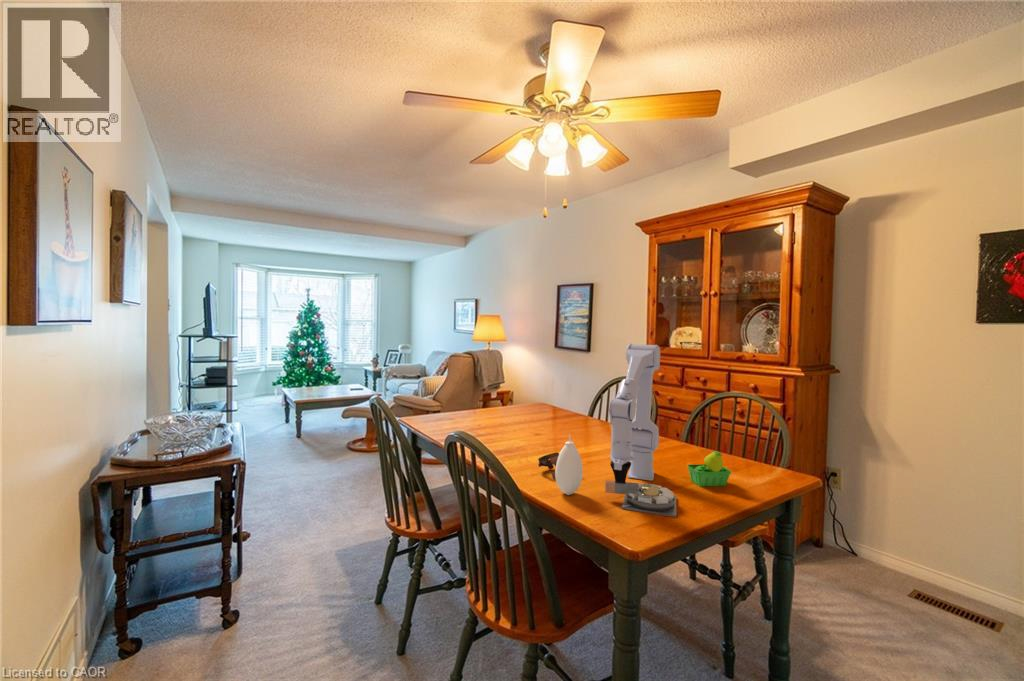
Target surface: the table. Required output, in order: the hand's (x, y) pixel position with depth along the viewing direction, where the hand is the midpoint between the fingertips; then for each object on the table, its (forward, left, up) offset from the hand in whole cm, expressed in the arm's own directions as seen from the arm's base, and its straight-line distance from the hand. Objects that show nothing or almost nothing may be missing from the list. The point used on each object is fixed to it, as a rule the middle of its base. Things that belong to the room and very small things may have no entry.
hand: (620, 487), depth 131 cm
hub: (0, +8, -3) cm, 9 cm away
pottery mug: (-13, -22, -4) cm, 26 cm away
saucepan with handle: (+2, +6, -1) cm, 6 cm away
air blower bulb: (+2, -15, -4) cm, 15 cm away
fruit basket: (-24, +25, -4) cm, 35 cm away
